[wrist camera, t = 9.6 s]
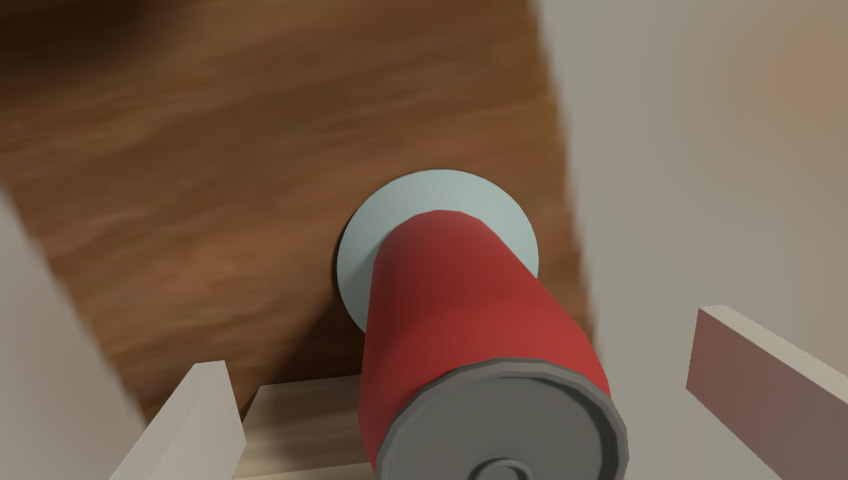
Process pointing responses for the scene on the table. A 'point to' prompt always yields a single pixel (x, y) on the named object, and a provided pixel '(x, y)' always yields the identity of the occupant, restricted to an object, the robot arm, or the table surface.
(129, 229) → the table surface
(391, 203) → the coaster
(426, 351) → the beer can
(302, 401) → the block
